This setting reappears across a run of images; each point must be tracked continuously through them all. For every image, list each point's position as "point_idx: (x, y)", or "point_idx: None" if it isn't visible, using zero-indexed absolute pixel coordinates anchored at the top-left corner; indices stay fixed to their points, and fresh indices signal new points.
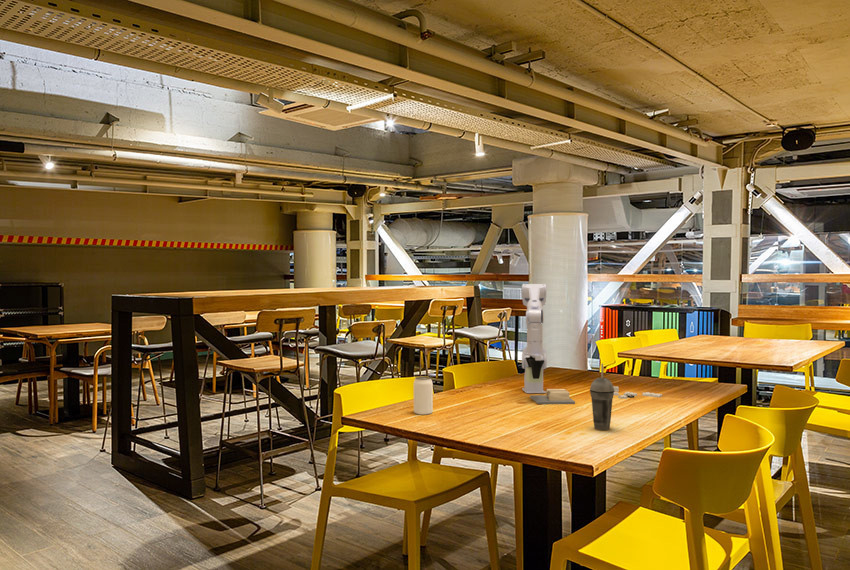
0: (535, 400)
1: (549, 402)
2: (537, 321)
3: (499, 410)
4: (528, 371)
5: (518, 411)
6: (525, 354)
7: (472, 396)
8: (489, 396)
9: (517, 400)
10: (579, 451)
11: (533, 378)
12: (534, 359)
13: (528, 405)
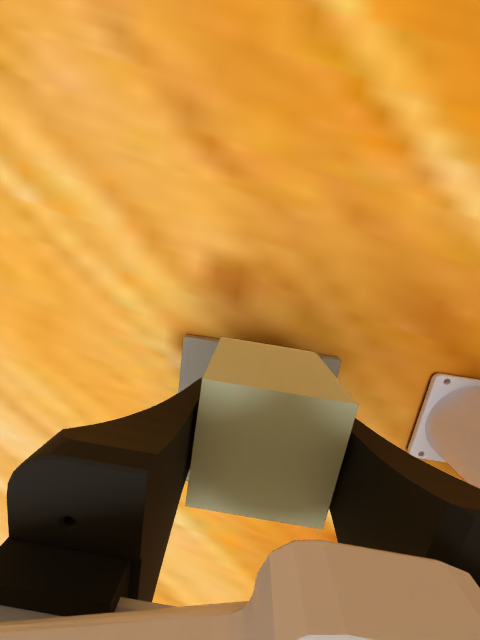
0: (217, 341)
1: (179, 385)
2: None
3: (64, 110)
4: (213, 368)
5: (41, 199)
6: (263, 583)
7: (458, 49)
8: (424, 161)
9: (283, 277)
10: None
11: (201, 378)
12: (51, 558)
13: (164, 288)
